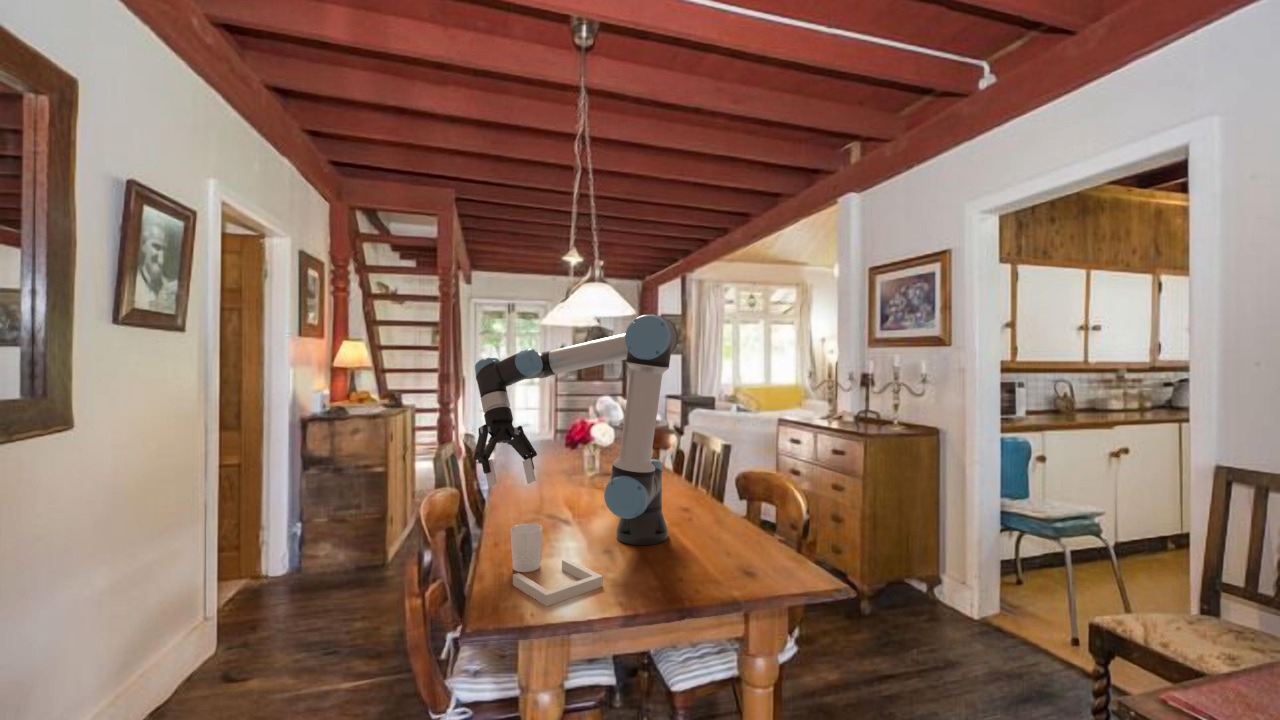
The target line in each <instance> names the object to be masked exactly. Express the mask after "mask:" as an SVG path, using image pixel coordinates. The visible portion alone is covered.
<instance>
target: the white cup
mask: <svg viewBox="0 0 1280 720" xmlns="http://www.w3.org/2000/svg"><path fill="white" fill-rule="evenodd" d="M542 545H543V526H542V525H541V524H538V523H527V522H526V523H520V524H516V525H513V526H512V527H510V547H511V549H510V551H511V558H512V569H513V571H515V572H517V573H530V572H531V573H532V572H534V571H537V570H538V569H539V568H540V567H541V560H542V559H541V557H542Z"/></svg>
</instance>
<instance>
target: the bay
mask: <svg viewBox="0 0 1280 720" xmlns="http://www.w3.org/2000/svg"><path fill="white" fill-rule="evenodd" d="M561 570H562V571H564V572H566V573H568V574H569V575H571V576H572V577H575V578H577V579H579V580H577V581H576V580H575V581H574V582H573V581H572V582H571V583H568V584H565V585H562V586H559V587H556V588H552V589H550V590H548V589H547V588H544V586H542V585H540V584H538V583H537V582H535V581H533V580H532V579H530V578H528V577H527V576H525V575H523V574H522V573H521V572H517V573H513V574H512V585H513V586H514V587H515V588H517V589H518V588H519V590H520V591H521V592H523V593H524V594H526V595H528V596H529V595H530V596H529V597H531V598H532V597H533V599H534V600H535V599H536V600H535V601H537V602H539V603H540V604H541V605H543V606H545V607H548V606H552V605H555V604H557V603H560V602H563V601H565V600H569V599H571V598H574V597H577V596H579V595H583V594H587V593H588V592H591V591H594V590H596V589H599V588H601V587H603V585H604V579H603V578H604V576H603V575H602V574H599V573H598V572H595V571H593V570H591V569H589V568H587V567H585V566H583V565H581V564H579V563H577V562H575V561H573V560H572V559H569V558H564V559H561Z"/></svg>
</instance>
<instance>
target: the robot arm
mask: <svg viewBox="0 0 1280 720" xmlns="http://www.w3.org/2000/svg"><path fill="white" fill-rule="evenodd" d="M678 343H679V332H678V329H677V327H676V326H675V324H674V323H672V321H671V320H669V319H667V318H664V317H661V316H659V315H656V314H643V315H640V316H638V317H635V318H634V319H633V320H631V322H630V323H629V324H628V327H626V329H625V333H621V334H616V335H612V336H608V337H603V338H599V339H594V340H590V341H586V342H582V343H577V344H574V345H573V344H572V345H570V346H565V347H560V348H556V349H552V350H551V349H550V350H547V351H543V352H538V351H537V350H535V348H526V349H524V350H520V351H519V352H517V353H515V354H513V355H511V356H509V357H506V358H504V359H502V360H500V359H499V358H497V357H486V358H482V359H480V360H478V361H477V362H476V363H475V365H474V371H475V381H476V382H477V387H478V391H479V396H480V403H481V407H482V411H483V413H484V415H483V417H484V418H483V419H484V422H485V424H483V425H482V426H480V427H478V436H477V437H478V438H477V443H476V447H475V450H474V454H473V459H474V460H475V461H477V462H478V463H479V464H481V466H482V472H483V474H485V476H486V483H487V487H488V488H491V487H493V486H495V485H496V484H498V482H497V476H496V472H495V471H496V470H495V466H494V462H493V459H491V456H492V454H493V452H494V450H495V447H496V446H497V444H500V443H503V444H508V445H510V446H511V447H512V448H513V449H514V450H515V452H517V453H518V455H519V456H520V457H521V458H522V459H523V461H522V464H523V469H524V474H525V479H526V484H527V485H529V484H532V483H533V482H536V481H537V480H536V475H535V471H534V470H535V465H534V460H533V458H535V457H537V455H538V452H537V451H536V450H535V448H534V447H533V445H532V443H531V442H530V440H529V439H528V437H527V435H526V433H525V432H524V428H523V426H522V425H518V426H517V427H516V426H515V427H514V425H513V421H514V418H513V412H512V409H511V408H510V407H511V403H510V399H509V395H508V390H507V387H509V386H511V385H515V384H517V383H519V382H521V381H524V380H532V379H544V378H549V377H550V376H554V375H558V374H559V375H560V374H563V373H568V372H572V371H578V370H583V369H586V368H591V367H597V366H600V365H605V364H610V363H615V362H619V361H624V360H625V363H626V365H627V366H628V367H629V369H630V371H629V373H630V374H629V378H628V379H629V381H628V388H627V396H626V403H625V411H624V418H623V425H622V432H621V434H622V435H621V442H620V448H619V455H618V457H617V458H616V459H615V460H614V461H612V465H611V466H612V467H611V471H610V473H611V474H610V480H609V481H608V482H607V483H606V485H605V489H604V492H603V496H604V497H603V499H604V503H605V506H606V507H607V508H608V510H609V511H610V512H611V513H612V514H613V515H614V516H616V517H618V518H619V521H618V524H617V526H616V539H617V540H618V541H619V542H621V543H624V544H627V545H634V546H651V545H657V544H661V543H663V542H665V541H667V540H668V538H669V533H668V531H669V530H668V525H667V522H666V519H665V517H664V514H663V510H662V509H663V504H662V503H663V495H662V494H663V490H662V489H663V466H662V462H661V461H660V460H658V459H653V458H652V453H653V446H654V438H655V431H656V426H657V425H656V424H657V423H656V422H657V416H658V409H659V401H660V395H661V394H660V393H661V389H662V380H663V379H662V378H663V374H664V373H665V372H666V371H667V370H669V368H670V362H671V356H672V354H673V352H674V351H675V350H676V348H677V346H678ZM489 435H490V437H489ZM488 437H489V440H488ZM487 442H488V443H487Z"/></svg>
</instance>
